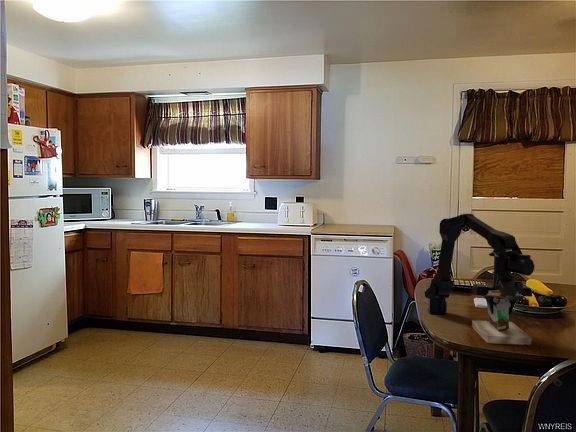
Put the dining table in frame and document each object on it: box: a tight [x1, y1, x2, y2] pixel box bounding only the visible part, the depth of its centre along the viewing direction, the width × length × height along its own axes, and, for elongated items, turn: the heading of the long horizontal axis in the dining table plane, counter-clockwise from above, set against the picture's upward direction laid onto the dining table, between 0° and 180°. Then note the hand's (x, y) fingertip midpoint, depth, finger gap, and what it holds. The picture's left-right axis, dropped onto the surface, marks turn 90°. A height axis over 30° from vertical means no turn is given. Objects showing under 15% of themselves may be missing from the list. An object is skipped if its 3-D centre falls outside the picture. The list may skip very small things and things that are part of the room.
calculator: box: [473, 297, 487, 309], centre depth 208 cm, size 13×20×2 cm, turn 72°
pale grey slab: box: [471, 319, 532, 346], centre depth 167 cm, size 14×18×3 cm
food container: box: [486, 294, 511, 332], centre depth 167 cm, size 12×6×10 cm, turn 175°
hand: (500, 314), depth 167 cm, fingers closed on food container, 5 cm apart
